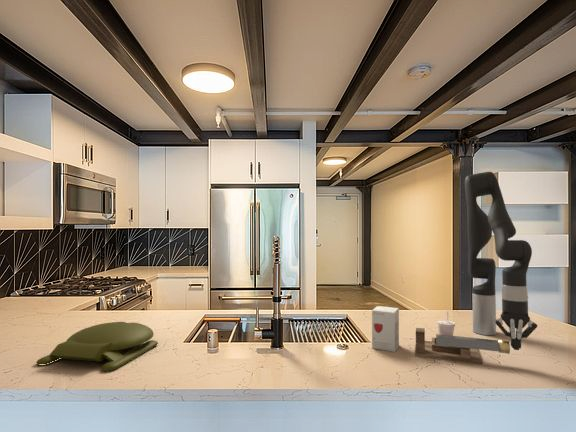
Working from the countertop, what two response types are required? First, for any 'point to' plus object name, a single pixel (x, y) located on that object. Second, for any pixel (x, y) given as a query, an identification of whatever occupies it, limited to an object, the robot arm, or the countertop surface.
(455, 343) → the bar
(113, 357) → the spaceship
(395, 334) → the supplement box
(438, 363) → the countertop surface
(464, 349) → the holder
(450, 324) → the smoothie
